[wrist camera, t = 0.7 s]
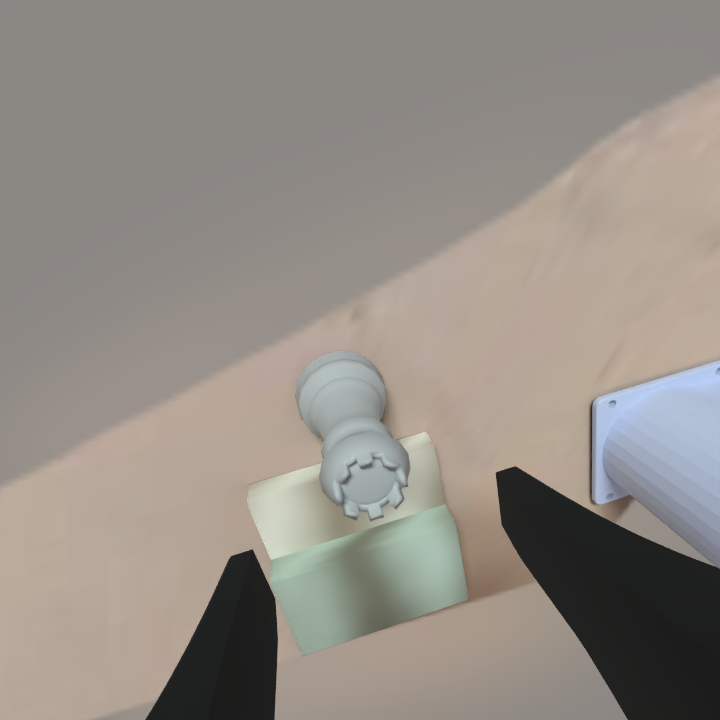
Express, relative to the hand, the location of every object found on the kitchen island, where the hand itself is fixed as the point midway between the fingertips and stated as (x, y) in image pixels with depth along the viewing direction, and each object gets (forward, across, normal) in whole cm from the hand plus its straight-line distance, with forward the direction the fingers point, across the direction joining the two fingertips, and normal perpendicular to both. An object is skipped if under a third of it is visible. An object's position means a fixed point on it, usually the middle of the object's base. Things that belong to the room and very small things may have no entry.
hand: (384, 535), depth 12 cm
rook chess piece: (+10, 0, 0) cm, 10 cm away
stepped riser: (+10, +1, +9) cm, 13 cm away
